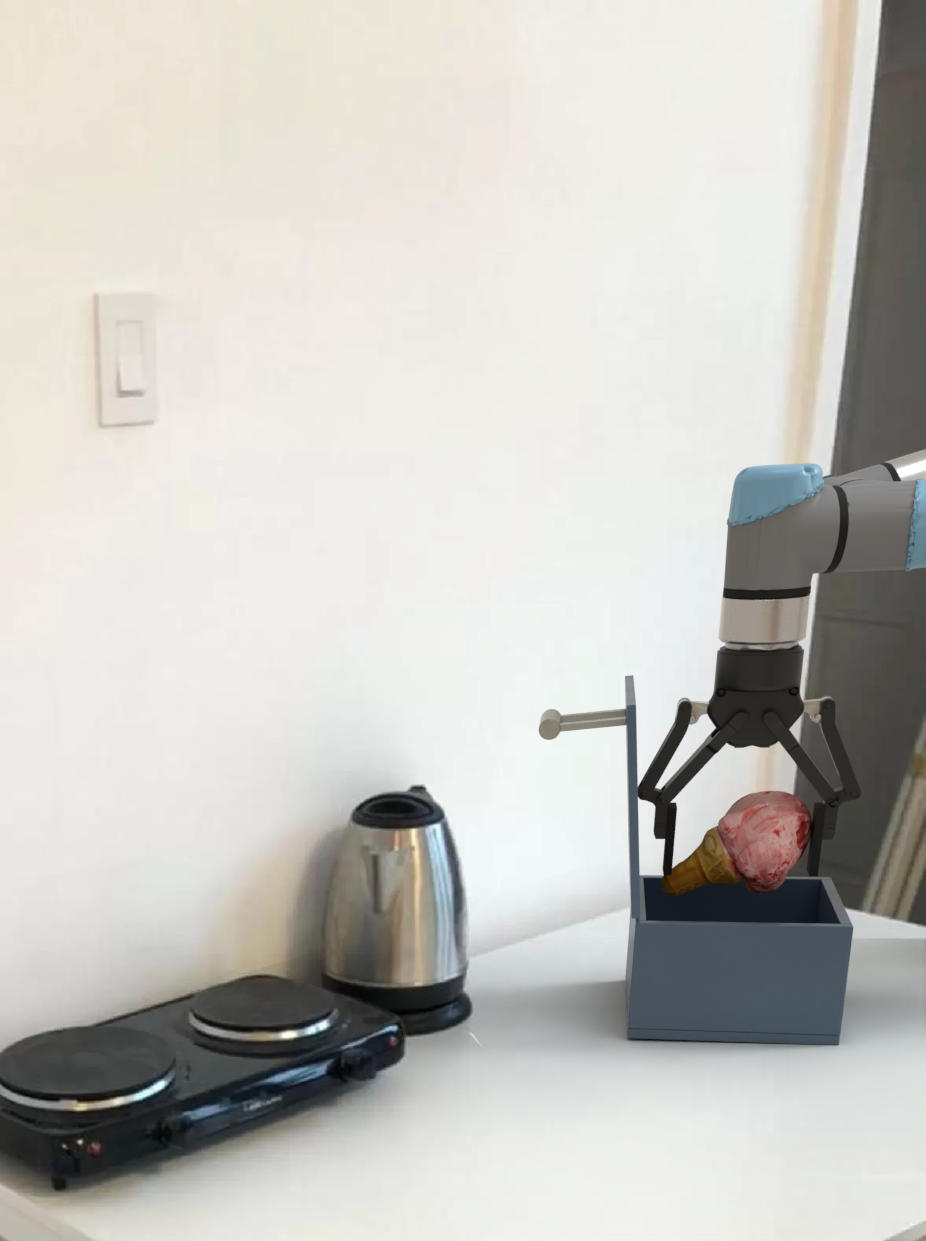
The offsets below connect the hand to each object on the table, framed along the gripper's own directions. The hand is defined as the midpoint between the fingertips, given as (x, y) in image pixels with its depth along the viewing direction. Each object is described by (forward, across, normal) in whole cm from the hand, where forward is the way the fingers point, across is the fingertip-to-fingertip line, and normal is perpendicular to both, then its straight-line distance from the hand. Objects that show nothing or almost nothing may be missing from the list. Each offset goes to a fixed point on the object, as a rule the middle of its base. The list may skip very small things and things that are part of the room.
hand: (738, 872), depth 173 cm
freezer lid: (-8, +10, 0) cm, 13 cm away
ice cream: (+2, 0, 0) cm, 2 cm away
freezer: (+14, 0, 0) cm, 14 cm away
